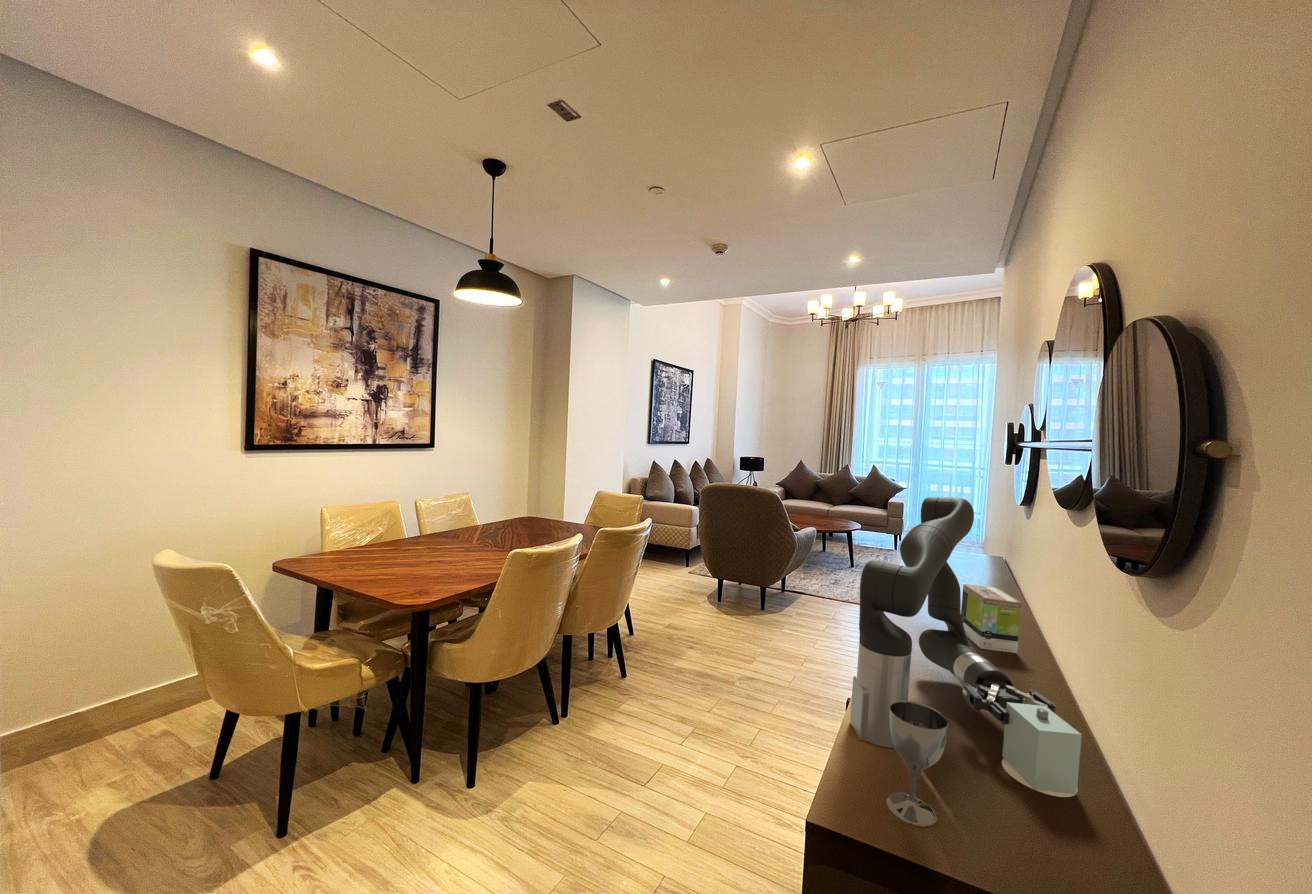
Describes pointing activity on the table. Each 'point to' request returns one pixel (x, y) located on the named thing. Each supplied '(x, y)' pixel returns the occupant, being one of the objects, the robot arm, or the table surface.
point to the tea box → (991, 618)
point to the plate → (1017, 776)
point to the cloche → (1042, 748)
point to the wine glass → (915, 753)
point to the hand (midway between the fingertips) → (1031, 722)
